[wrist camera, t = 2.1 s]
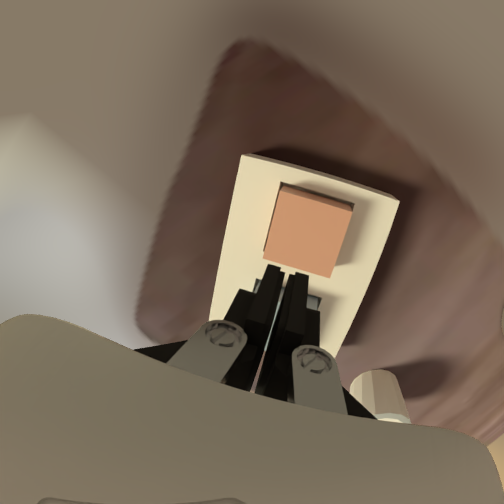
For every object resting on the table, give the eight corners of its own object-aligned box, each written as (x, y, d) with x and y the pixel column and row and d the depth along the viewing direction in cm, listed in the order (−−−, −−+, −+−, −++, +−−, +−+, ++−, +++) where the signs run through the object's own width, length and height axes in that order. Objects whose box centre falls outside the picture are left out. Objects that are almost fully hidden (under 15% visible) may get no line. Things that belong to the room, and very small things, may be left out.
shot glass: (386, 354, 28) (395, 404, 21) (412, 388, 29) (421, 434, 22) (332, 384, 30) (330, 432, 24) (362, 413, 31) (364, 458, 25)
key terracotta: (349, 204, 21) (352, 212, 19) (329, 265, 23) (329, 278, 21) (284, 185, 22) (279, 190, 20) (268, 247, 24) (262, 258, 22)
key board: (391, 194, 23) (399, 201, 20) (330, 347, 29) (329, 367, 26) (250, 153, 24) (241, 155, 21) (217, 313, 30) (207, 330, 28)
